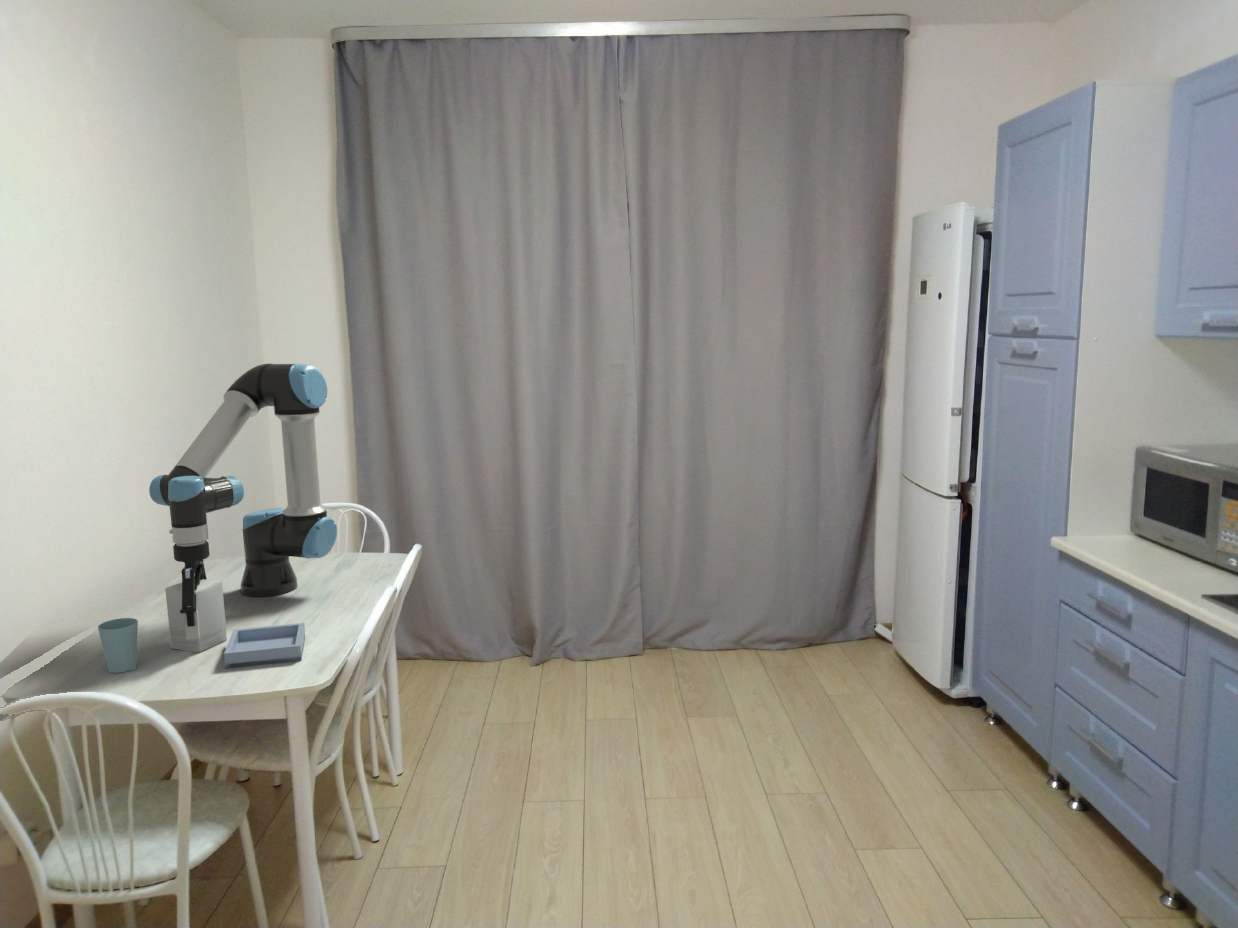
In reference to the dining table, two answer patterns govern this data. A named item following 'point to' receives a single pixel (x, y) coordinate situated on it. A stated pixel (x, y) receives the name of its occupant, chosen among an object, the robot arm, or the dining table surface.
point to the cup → (119, 644)
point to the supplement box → (208, 616)
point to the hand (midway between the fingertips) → (198, 628)
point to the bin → (265, 645)
